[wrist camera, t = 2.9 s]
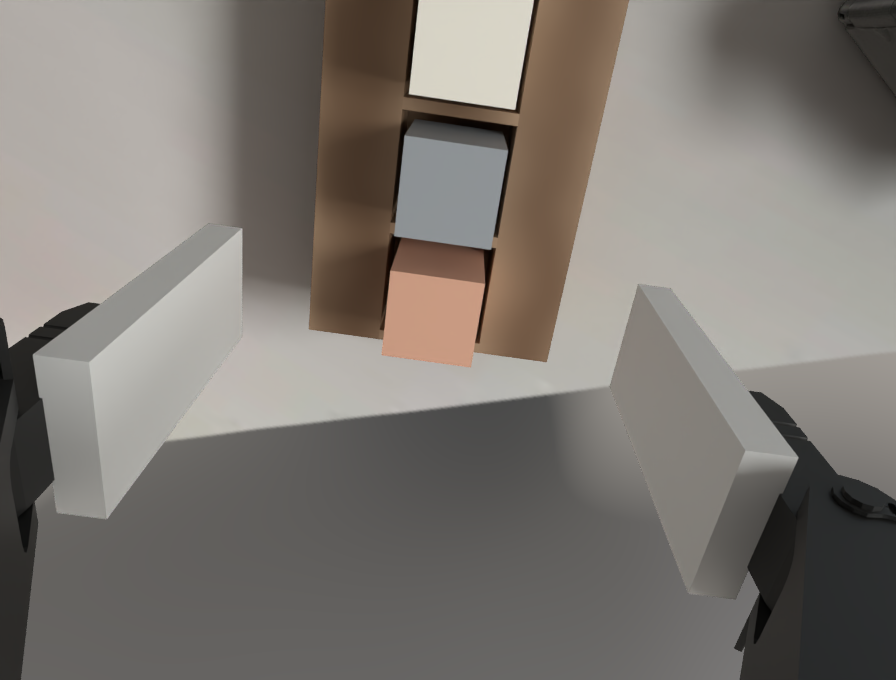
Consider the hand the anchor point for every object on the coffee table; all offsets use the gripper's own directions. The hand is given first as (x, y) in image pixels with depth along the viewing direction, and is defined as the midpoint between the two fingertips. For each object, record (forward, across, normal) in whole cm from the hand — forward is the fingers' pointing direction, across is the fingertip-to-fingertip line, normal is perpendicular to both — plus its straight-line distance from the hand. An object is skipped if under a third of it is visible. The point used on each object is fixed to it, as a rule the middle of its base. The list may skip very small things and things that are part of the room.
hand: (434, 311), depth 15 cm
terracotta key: (+17, 0, -6) cm, 18 cm away
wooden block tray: (+20, 0, 0) cm, 20 cm away
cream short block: (+17, 0, +6) cm, 18 cm away
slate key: (+17, 0, 0) cm, 17 cm away
